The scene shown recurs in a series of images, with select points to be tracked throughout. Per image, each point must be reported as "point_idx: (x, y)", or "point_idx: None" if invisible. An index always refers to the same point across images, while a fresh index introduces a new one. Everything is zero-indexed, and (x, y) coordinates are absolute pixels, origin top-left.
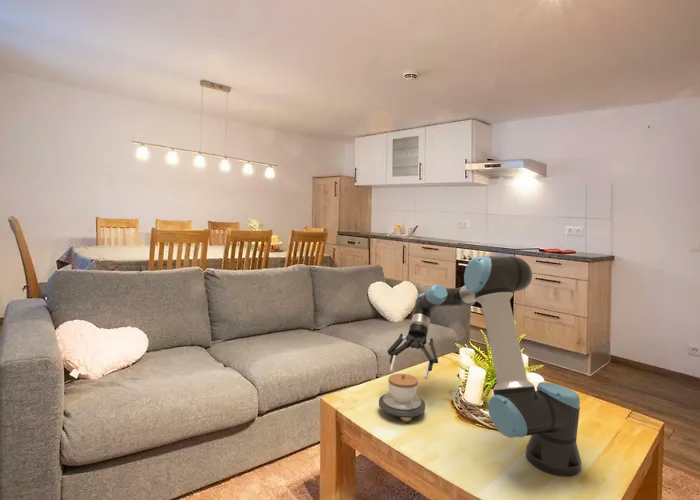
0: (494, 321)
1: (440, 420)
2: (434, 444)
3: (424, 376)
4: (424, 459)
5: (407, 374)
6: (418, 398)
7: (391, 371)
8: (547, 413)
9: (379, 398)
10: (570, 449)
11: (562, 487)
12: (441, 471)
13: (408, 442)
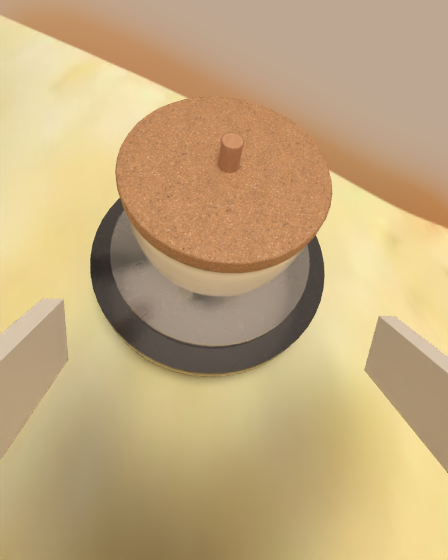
0: None
1: (28, 274)
2: (62, 126)
3: (62, 301)
4: (92, 69)
5: (218, 252)
6: (129, 290)
7: (377, 340)
8: None
9: (320, 250)
10: None
11: None
12: (47, 43)
13: (144, 117)
